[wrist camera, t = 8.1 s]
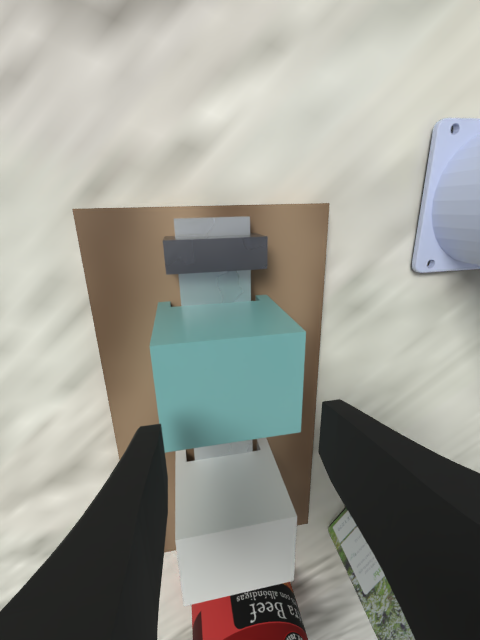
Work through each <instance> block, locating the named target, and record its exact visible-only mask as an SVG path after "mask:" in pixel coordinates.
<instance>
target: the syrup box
mask: <svg viewBox="0 0 480 640" xmlns="http://www.w3.org/2000/svg"><path fill="white" fill-rule="evenodd" d="M328 531H329V534H330V536H331V538H332V540H333V543H334V545H335V547H336V549H337V551H338V553H339V556H340V558H341V560H342V562H343V564H344V566H345V568H346V571H347V573H348V575H349V578H350V580H351V582H352V584H353V586H354V588H355V591H356V593H357V595H358V597H359V599H360V601H361V604H362V606H363V608H364V610H365V612H366V614H367V617H368V619H369V621H370V623H371V625H372V628H373V630H374V632H375V634H376V636H377V638H378V640H415V638H414V636H413V634H412V632H411V629H410V627H409V625H408V623H407V621H406V619H405V616H404V614H403V612H402V610H401V608H400V606H399V604H398V602H397V600H396V597H395V595H394V593H393V591H392V589H391V587H390V585H389V583H388V581H387V579H386V577H385V575H384V573H383V571H382V569H381V567H380V565H379V563H378V561H377V560H376V558H375V556H374V554H373V552H372V551H371V549H370V547H369V545H368V544H367V542H366V540H365V539H364V537H363V535H362V534H361V532H360V530H359V528H358V527H357V525H356V523H355V522H354V520H353V518H352V517H351V515H350V513H349V512H348V510H347V508H346V509H345V510H344V511H343V512H342V513H341V514H340V515H339V516H338V518H337V519H336V520H335V521H334V522H333V523H332V524H331V525H330V527H329V528H328Z"/></svg>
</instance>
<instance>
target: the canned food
mask: <svg viewBox="0 0 480 640" xmlns="http://www.w3.org/2000/svg"><path fill="white" fill-rule="evenodd" d="M192 628H193V640H308V638H307V635H306V631H305V628H304V625H303V622H302V619H301V615H300V612H299V609H298V606H297V602H296V599H295V596H294V593H293V590H292V586H291V583H290V582H286V583H282V584H277V585H273V586H269V587H265V588H260V589H256V590H252V591H248V592H243V593H239V594H235V595H230V596H226V597H222V598H218V599H213V600H209V601H205V602H201V603H196V604H192Z"/></svg>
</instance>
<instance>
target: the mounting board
mask: <svg viewBox="0 0 480 640" xmlns="http://www.w3.org/2000/svg"><path fill="white" fill-rule="evenodd" d="M73 215H74V220H75V225H76V231H77V236H78V241H79V247H80V252H81V257H82V263H83V268H84V273H85V278H86V284H87V289H88V294H89V300H90V305H91V310H92V316H93V321H94V326H95V332H96V337H97V342H98V348H99V353H100V358H101V364H102V369H103V374H104V379H105V385H106V390H107V395H108V401H109V406H110V411H111V417H112V422H113V427H114V433H115V438H116V443H117V449H118V454H119V459H121V457H122V456H123V454H124V452H125V451H126V449H127V447H128V446H129V444H130V442H131V440H132V438H133V436H134V434H135V433H136V431H137V429H138V428H139V427H140V426H147V425H155V424H159V417H158V409H157V401H156V393H155V386H154V378H153V370H152V362H151V354H150V341H151V336H152V331H153V326H154V321H155V316H156V311H157V306H158V302H168V301H170V302H171V307H177V306H181V297H180V285H179V274H170V275H166V269H165V259H164V249H163V239H164V236H175V229H174V218H199V217H235V216H249V217H250V233H258V234H261V235H264V236H268V252H267V269H257V270H251V301H256V300H255V295H267V296H269V297H270V298H271V299H272V300H273V301H274V302H275V303H276V304H277V305H278V306H279V307H280V308H281V309H282V310H283V311H285V312H286V313H287V314H288V315H289V316H290V317H291V318H292V319H293V320H294V321H295V322H296V323H297V324H298V325H300V326H301V327H302V328H303V329H304V330H305V331H306V342H305V361H304V380H303V400H302V419H301V432H299V433H292V434H286V435H279V436H272V437H266V439H267V441H268V444H269V446H270V449H271V451H272V454H273V456H274V459H275V461H276V464H277V466H278V469H279V471H280V474H281V477H282V479H283V482H284V484H285V487H286V489H287V492H288V494H289V497H290V499H291V502H292V504H293V507H294V510H295V512H296V515H297V525H302V524H307V523H308V513H309V498H310V483H311V468H312V453H313V439H314V424H315V409H316V394H317V379H318V365H319V350H320V335H321V320H322V306H323V291H324V276H325V261H326V246H327V232H328V217H329V203H322V204H276V205H231V206H185V207H139V208H94V209H73ZM259 439H260V438H259ZM252 443H253V451H257V439H252ZM179 451H180V450H179ZM165 458H166V466H167V474H168V517H167V527H166V537H165V547H164V552H169V551H174V550H176V543H175V461H176V451H172V452H166V453H165ZM186 458H187V462H189V461H195V456H194V448H192V449H186Z"/></svg>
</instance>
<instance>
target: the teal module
mask: <svg viewBox="0 0 480 640" xmlns="http://www.w3.org/2000/svg"><path fill="white" fill-rule="evenodd" d="M255 300H256V301H245V302H231V303H218V304H204V305H191V306H177V307H171V302H170V301H168V302H158V306H157V311H156V316H155V321H154V326H153V331H152V336H151V341H150V354H151V362H152V370H153V378H154V386H155V393H156V401H157V409H158V417H159V424H161V427H162V435H163V442H164V450H165V453H166V452H172V451H179V450H186V449H192V448H199V447H206V446H212V445H219V444H226V443H232V442H239V441H246V440H252V439H259V438H266V437H272V436H279V435H286V434H292V433H299V432H301V419H302V400H303V380H304V361H305V342H306V331H305V330H304V329H303V328H302V327H301V326H300V325H298V324H297V323H296V322H295V321H294V320H293V319H292V318H291V317H290V316H289V315H288V314H287V313H286V312H285V311H283V310H282V309H281V308H280V307H279V306H278V305H277V304H276V303H275V302H274V301H273V300H272V299H271V298H270V297H269V296H267V295H255Z"/></svg>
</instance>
